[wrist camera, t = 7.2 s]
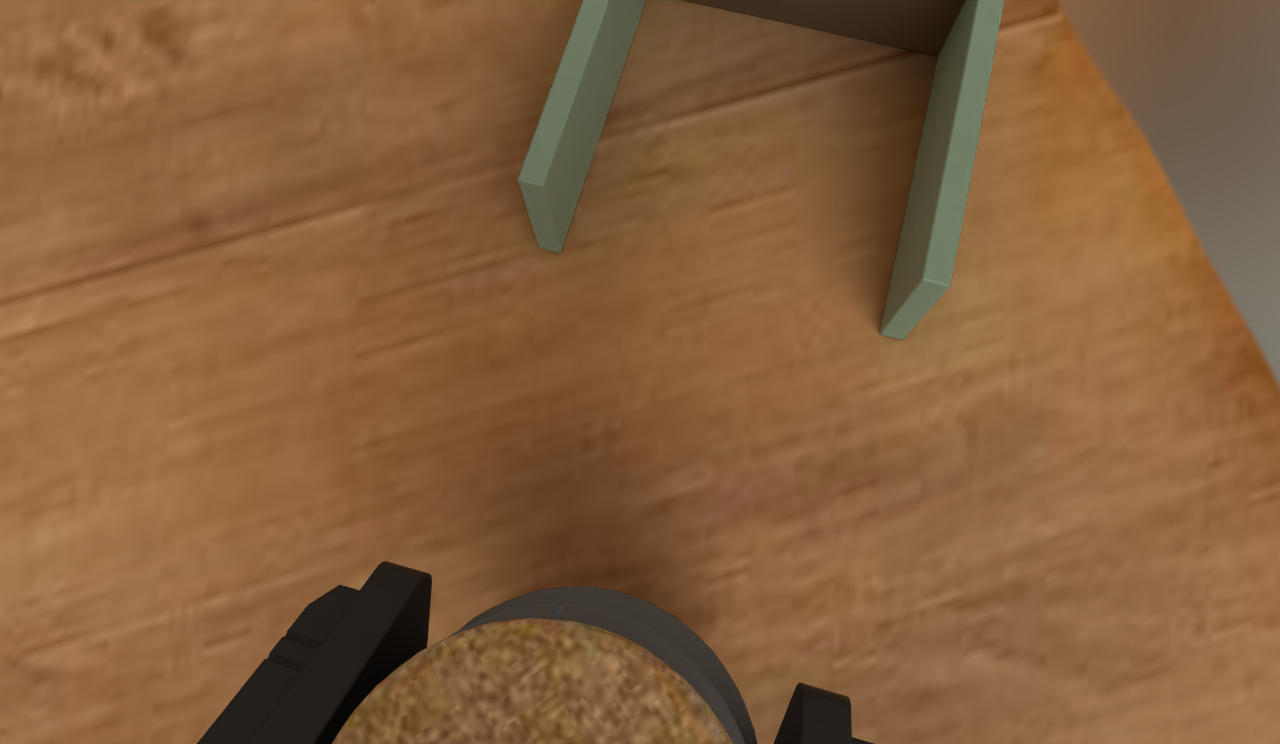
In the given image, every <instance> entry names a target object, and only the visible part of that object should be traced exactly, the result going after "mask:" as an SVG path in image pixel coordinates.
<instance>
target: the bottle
mask: <svg viewBox="0 0 1280 744" xmlns="http://www.w3.org/2000/svg"><path fill="white" fill-rule="evenodd" d="M332 744H757V741H756V736H755V731H754V728H753V725H752V722H751V719H750V717H749V714H748V711H747V708H746V705H745V703H744V701H743V699H742V696H741V694H740V692H739V690H738V688H737V687H736V685H735V683H734V682H733V680H732V678H731V677H730V675H729V673H728V672H727V670H726V668H725V667H724V665H723V664H722V663H721V661H720V660H719V659H718V657H717V656H716V655H715V654H714V652H713V651H712V650H711V649H710V648H709V647H708V646H707V645H706V644H705V643H704V641H703V640H702V639H701V638H700V637H699V636H698V635H697V634H695V633H694V632H693V631H692V630H691V629H689V628H688V627H687V626H686V625H685V624H683V623H682V622H681V621H680V620H679V619H677V618H676V617H674V616H673V615H671V614H669V613H668V612H666V611H664V610H663V609H661V608H659V607H657V606H656V605H654V604H652V603H650V602H648V601H645V600H643V599H640V598H637V597H635V596H632V595H629V594H626V593H622V592H619V591H615V590H611V589H605V588H598V587H579V586H569V587H560V588H552V589H543V590H537V591H534V592H530V593H527V594H524V595H522V596H519V597H516V598H513V599H510V600H508V601H506V602H503V603H501V604H499V605H497V606H495V607H493V608H491V609H489V610H487V611H485V612H483V613H482V614H480V615H478V616H476V617H474V618H473V619H472V620H471V621H469V622H468V623H467V624H466V625H465V626H463V627H462V628H461V629H460V630H458V631H457V632H455V633H453V634H452V635H450V636H449V637H448V638H446V639H444V640H442V641H439V642H437V643H436V644H434V645H432V646H430V647H428V648H426V649H424V650H422V651H420V652H418V653H417V654H416V655H414V656H413V657H412V658H410V659H409V660H408V661H406V662H405V663H404V664H402V665H401V666H400V667H398V668H397V669H396V670H395V671H393V672H392V673H391V674H390V675H389V676H388V677H386V678H385V679H384V680H383V681H382V682H381V683H379V684H378V685H377V686H376V687H375V688H374V689H373V690H372V691H371V693H370V694H369V695H368V696H367V697H366V698H365V699H364V700H363V701H362V703H361V704H360V705H359V706H358V707H357V708H356V709H355V710H354V712H353V713H352V714H351V716H350V717H349V718H348V720H347V721H346V723H345V724H344V726H343V727H342V729H341V730H340V732H339V733H338V735H337V737H336V738H335V740H334V741H333V743H332Z"/></svg>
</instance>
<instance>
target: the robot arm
mask: <svg viewBox="0 0 1280 744" xmlns="http://www.w3.org/2000/svg"><path fill="white" fill-rule="evenodd" d="M431 588H432V577H431V575H430V574H428V573H425V572H422V571H418V570H415V569H411V568H408V567H404V566H401V565H397V564H394V563H390V562H387V561H384V562H382V563H381V564H380V565H378V567H377V568H376V569H375V570H374V572H373V573H372V574H371V576H370V577H369V579H368V580H367V581H366V583H365V584H364V585H363V587H362V588H361V589H360V591H359V590H356V589H352V588H349V587H346V586H342V585H339V586H337V587H335V588H334V589H332V590H331V591H329V592H327V593H326V594H324V595H323V596H321V597H320V598H318V599H316V600H315V601H313V602H312V603H310V604H308V606H307V607H306V608H305V609H304V611H303V612H302V613H301V614H300V616H299V617H298V618H297V619H296V621H295V622H294V623H293V624H292V626H291V627H290V628H289V629H288V631H287V634H286V636H285V637H282V638H281V639H280V641H279V642H278V643H277V644H276V646H275V647H274V648H273V649H272V651H271V652H270V653H269V657H268V659H264V661H263V662H262V663H261V664H260V666H259V667H258V668H257V669H256V671H255V672H254V673H253V674H252V676H251V677H250V678H249V679H248V681H247V682H246V683H245V684H244V686H243V687H242V688H241V689H240V691H239V692H238V693H237V694H236V696H235V697H234V698H233V699H232V701H231V702H230V703H229V705H228V706H227V707H226V708H225V710H224V711H223V712H222V713H221V715H220V716H219V717H218V718H217V720H216V721H215V722H214V723H213V725H212V726H211V727H210V728H209V730H208V731H207V732H206V733H205V735H204V736H203V737H202V738H201V740H200V741H199V742H198V743H197V744H332V743H333V741H334V740H335V738H336V737H337V735H338V733H339V732H340V730H341V729H342V727H343V726H344V724H345V723H346V721H347V720H348V718H349V717H350V716H351V714H352V713H353V712H354V710H355V709H356V708H357V707H358V706H359V705H360V704H361V703H362V701H363V700H364V699H365V698H366V697H367V696H368V695H369V694H370V693H371V691H372V690H373V689H374V688H375V687H376V686H377V685H378V684H379V683H381V682H382V681H383V680H384V679H385V678H386V677H388V676H389V675H390V674H391V673H392V672H393V671H395V670H396V669H397V668H398V667H400V666H401V665H402V664H404V663H405V662H406V661H408V660H409V659H410V658H412V657H413V656H414V655H416V654H417V653H418V652H420V651H422V650H424V649H426V647H427V641H428V628H429V615H430V601H431ZM774 744H873V743H870V742H866V741H863V740H860V739H856V738H853V737H852V730H851V704H850V699H849V697H847V696H844V695H841V694H837V693H834V692H830V691H827V690H823V689H820V688H817V687H813V686H810V685H806V684H803V683H798V685H797V686H796V688H795V691H794V693H793V696H792V698H791V701H790V703H789V706H788V708H787V711H786V713H785V716H784V719H783V721H782V724H781V726H780V729H779V731H778V734H777V737H776V739H775V742H774Z"/></svg>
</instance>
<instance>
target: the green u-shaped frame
mask: <svg viewBox="0 0 1280 744" xmlns="http://www.w3.org/2000/svg"><path fill="white" fill-rule="evenodd" d="M685 1H690V2H694V3H699V4H703V5H708V6H712V7H717V8H722V9H726V10H731V11H735V12H740V13H744V14H749V15H753V16H758V17H763V18H767V19H772V20H776V21H781V22H785V23H790V24H794V25H799V26H804V27H808V28H813V29H817V30H822V31H826V32H831V33H835V34H840V35H845V36H849V37H854V38H858V39H863V40H867V41H872V42H876V43H881V44H886V45H890V46H895V47H899V48H904V49H908V50H913V51H917V52H922V53H927V54H931V55H936V56H938V60H937V64H936V69H935V74H934V78H933V83H932V88H931V93H930V97H929V102H928V107H927V112H926V116H925V121H924V126H923V130H922V135H921V140H920V145H919V149H918V154H917V159H916V164H915V168H914V173H913V178H912V182H911V187H910V192H909V197H908V201H907V206H906V211H905V216H904V220H903V225H902V230H901V234H900V239H899V244H898V249H897V253H896V258H895V263H894V268H893V272H892V277H891V282H890V287H889V291H888V296H887V301H886V305H885V310H884V315H883V320H882V324H881V329H880V334H881V335H885V336H889V337H893V338H897V339H901V340H904V338H905V337H906V336H907V335H908V334H909V333H910V331H911V330H912V329H913V328H914V327H915V326H916V325H917V323H918V322H919V321H920V320H921V319H922V318H923V317H924V315H925V314H926V313H927V312H928V311H929V310H930V309H931V307H932V306H933V305H934V304H935V303H936V302H937V301H938V299H939V298H940V297H941V296H942V295H943V294H944V293H945V291H946V290H947V289H948V288H949V287H950V286H951V281H952V275H953V270H954V265H955V260H956V254H957V249H958V244H959V238H960V233H961V228H962V222H963V217H964V212H965V207H966V201H967V196H968V191H969V185H970V180H971V175H972V169H973V164H974V159H975V154H976V148H977V143H978V138H979V132H980V127H981V122H982V117H983V111H984V106H985V101H986V95H987V90H988V85H989V79H990V74H991V69H992V64H993V58H994V53H995V48H996V42H997V37H998V32H999V26H1000V21H1001V16H1002V11H1003V5H1004V0H685ZM645 2H646V0H583V2H582V4H581V7H580V10H579V13H578V15H577V18H576V21H575V24H574V26H573V29H572V32H571V34H570V37H569V40H568V43H567V45H566V48H565V51H564V54H563V56H562V59H561V62H560V65H559V67H558V70H557V73H556V76H555V78H554V81H553V84H552V87H551V89H550V92H549V95H548V98H547V100H546V103H545V106H544V109H543V111H542V114H541V117H540V119H539V122H538V125H537V128H536V130H535V133H534V136H533V139H532V141H531V144H530V147H529V150H528V152H527V155H526V158H525V161H524V163H523V166H522V169H521V172H520V174H519V177H518V183H519V186H520V189H521V192H522V195H523V199H524V202H525V205H526V208H527V211H528V215H529V218H530V221H531V224H532V228H533V231H534V234H535V237H536V240H537V244H538V247H539V248H542V249H546V250H550V251H554V252H557V253H560V252H561V250H562V247H563V244H564V241H565V238H566V235H567V232H568V230H569V227H570V224H571V221H572V218H573V215H574V212H575V209H576V206H577V203H578V200H579V197H580V194H581V191H582V188H583V185H584V182H585V179H586V176H587V173H588V170H589V167H590V164H591V162H592V159H593V156H594V153H595V150H596V147H597V144H598V141H599V138H600V135H601V132H602V129H603V126H604V123H605V120H606V117H607V114H608V111H609V108H610V105H611V102H612V99H613V97H614V94H615V91H616V88H617V85H618V82H619V79H620V76H621V73H622V70H623V67H624V64H625V61H626V58H627V55H628V52H629V49H630V46H631V43H632V40H633V37H634V34H635V31H636V29H637V26H638V23H639V20H640V17H641V14H642V11H643V8H644V5H645Z"/></svg>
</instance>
